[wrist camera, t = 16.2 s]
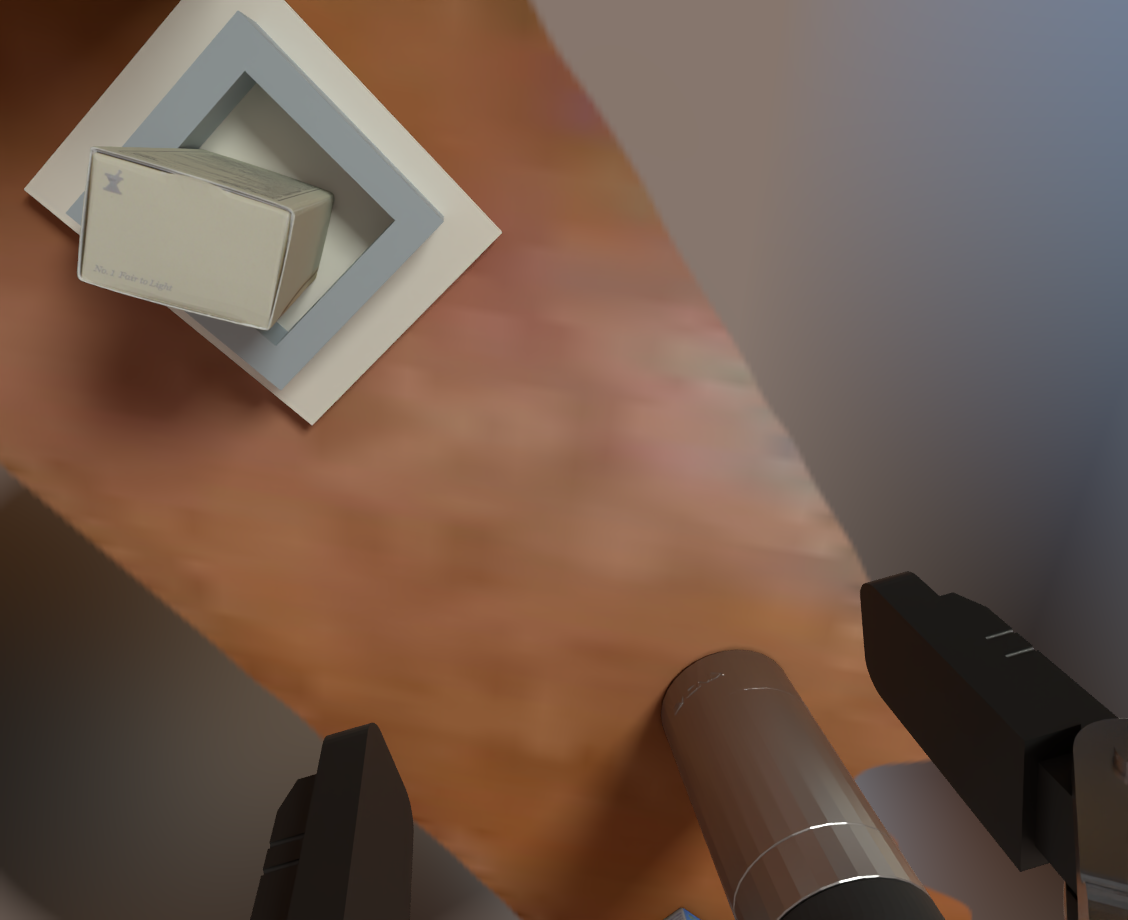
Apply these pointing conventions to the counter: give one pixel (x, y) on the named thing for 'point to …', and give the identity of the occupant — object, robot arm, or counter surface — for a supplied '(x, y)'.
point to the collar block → (301, 151)
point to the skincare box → (200, 232)
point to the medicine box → (681, 915)
